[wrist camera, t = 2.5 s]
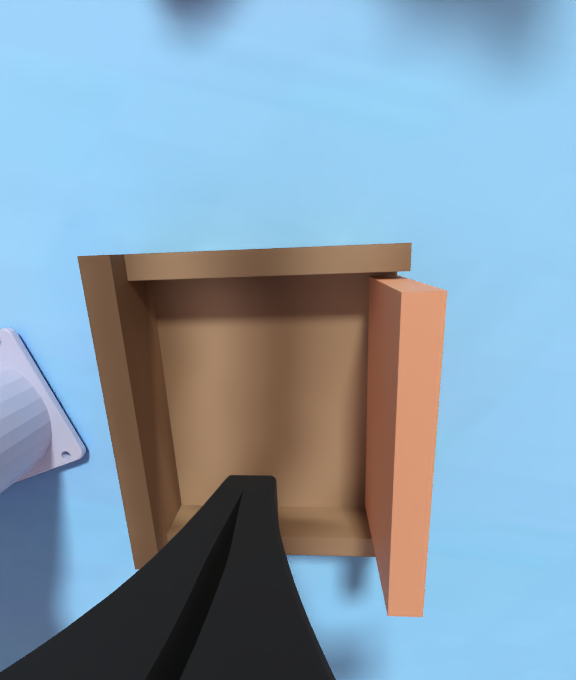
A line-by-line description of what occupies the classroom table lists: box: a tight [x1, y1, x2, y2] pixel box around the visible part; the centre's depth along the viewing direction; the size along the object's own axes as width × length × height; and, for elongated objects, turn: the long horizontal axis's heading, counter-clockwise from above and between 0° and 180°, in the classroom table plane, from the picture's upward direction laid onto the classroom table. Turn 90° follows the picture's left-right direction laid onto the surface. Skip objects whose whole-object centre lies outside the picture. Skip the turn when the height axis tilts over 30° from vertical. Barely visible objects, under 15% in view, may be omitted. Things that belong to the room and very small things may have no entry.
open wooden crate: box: [77, 243, 412, 569], centre depth 16 cm, size 12×14×4 cm
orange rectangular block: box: [365, 276, 447, 617], centre depth 14 cm, size 1×11×6 cm, turn 2°
